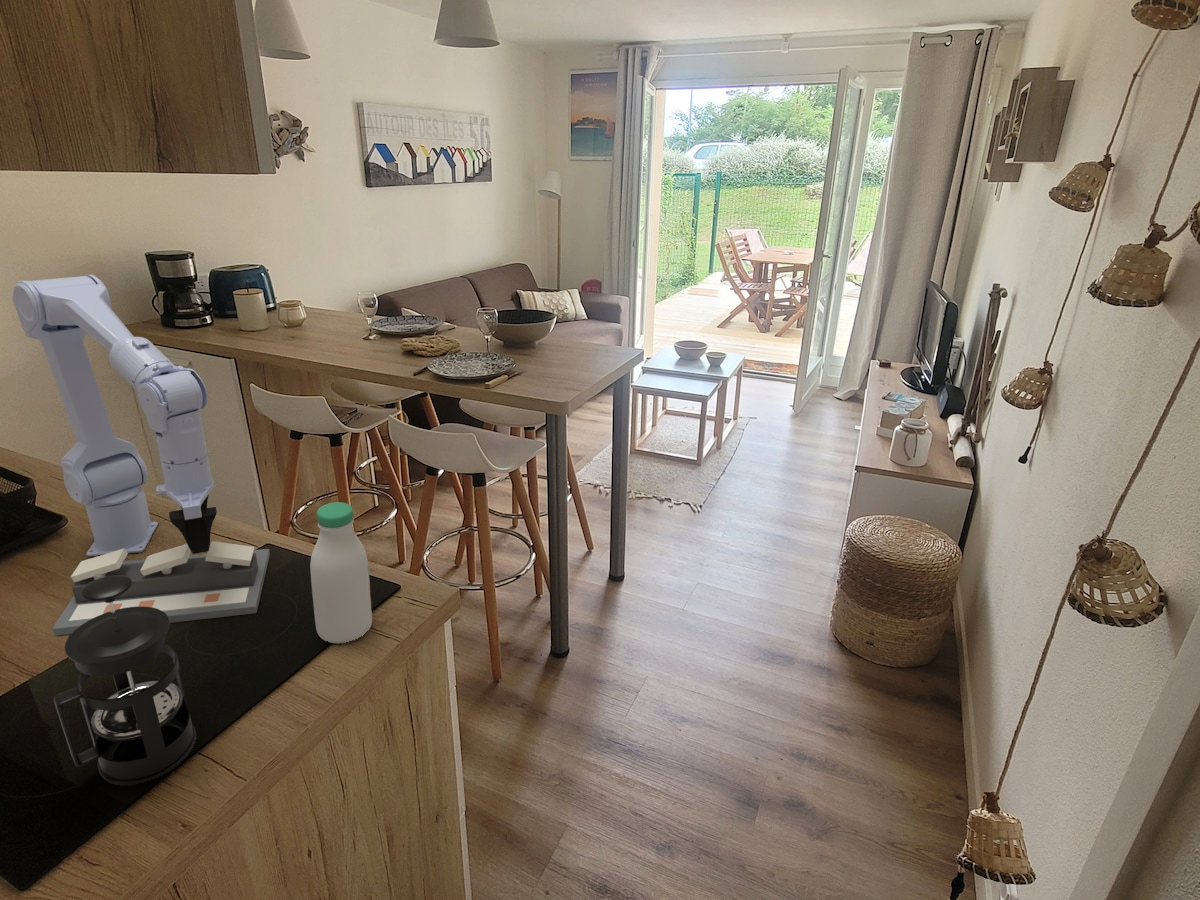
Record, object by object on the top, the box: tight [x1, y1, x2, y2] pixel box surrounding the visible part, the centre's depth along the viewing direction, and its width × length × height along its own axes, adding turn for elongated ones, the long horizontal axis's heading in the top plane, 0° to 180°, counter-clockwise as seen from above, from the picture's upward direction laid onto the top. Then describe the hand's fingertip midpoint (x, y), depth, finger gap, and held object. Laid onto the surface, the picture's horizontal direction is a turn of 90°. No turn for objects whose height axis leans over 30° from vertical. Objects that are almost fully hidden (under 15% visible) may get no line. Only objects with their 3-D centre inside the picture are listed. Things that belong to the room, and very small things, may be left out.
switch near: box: [70, 548, 129, 583], centre depth 97 cm, size 4×6×2 cm, turn 108°
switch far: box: [205, 540, 255, 569], centre depth 102 cm, size 4×6×2 cm, turn 108°
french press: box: [53, 575, 197, 787], centre depth 71 cm, size 12×9×23 cm
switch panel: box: [52, 548, 271, 637], centre depth 101 cm, size 16×25×4 cm, turn 108°
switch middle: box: [140, 543, 192, 576], centre depth 100 cm, size 4×6×2 cm, turn 108°
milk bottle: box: [309, 501, 373, 644], centre depth 93 cm, size 8×8×20 cm
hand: (199, 538), depth 99 cm, fingers open, 7 cm apart
